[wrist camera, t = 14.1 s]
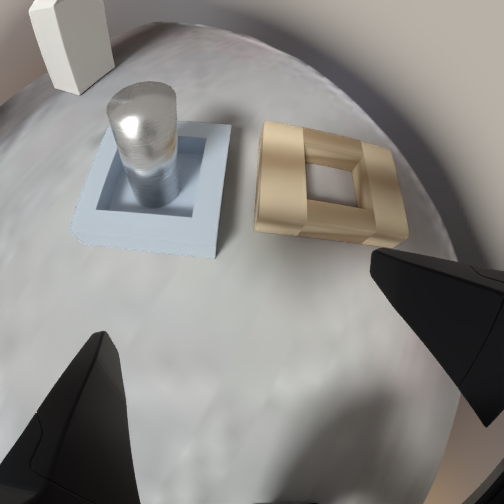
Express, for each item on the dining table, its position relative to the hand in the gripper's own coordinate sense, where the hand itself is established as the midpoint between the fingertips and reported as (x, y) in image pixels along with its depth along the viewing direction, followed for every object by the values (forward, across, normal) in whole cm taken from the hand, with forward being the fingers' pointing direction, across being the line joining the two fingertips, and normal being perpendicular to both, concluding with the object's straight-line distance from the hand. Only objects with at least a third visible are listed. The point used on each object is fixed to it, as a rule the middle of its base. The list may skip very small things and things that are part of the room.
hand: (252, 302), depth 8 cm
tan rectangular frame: (+16, -13, +3) cm, 21 cm away
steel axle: (+19, +3, 0) cm, 19 cm away
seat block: (+19, +3, 0) cm, 19 cm away
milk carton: (+36, +11, -17) cm, 42 cm away
